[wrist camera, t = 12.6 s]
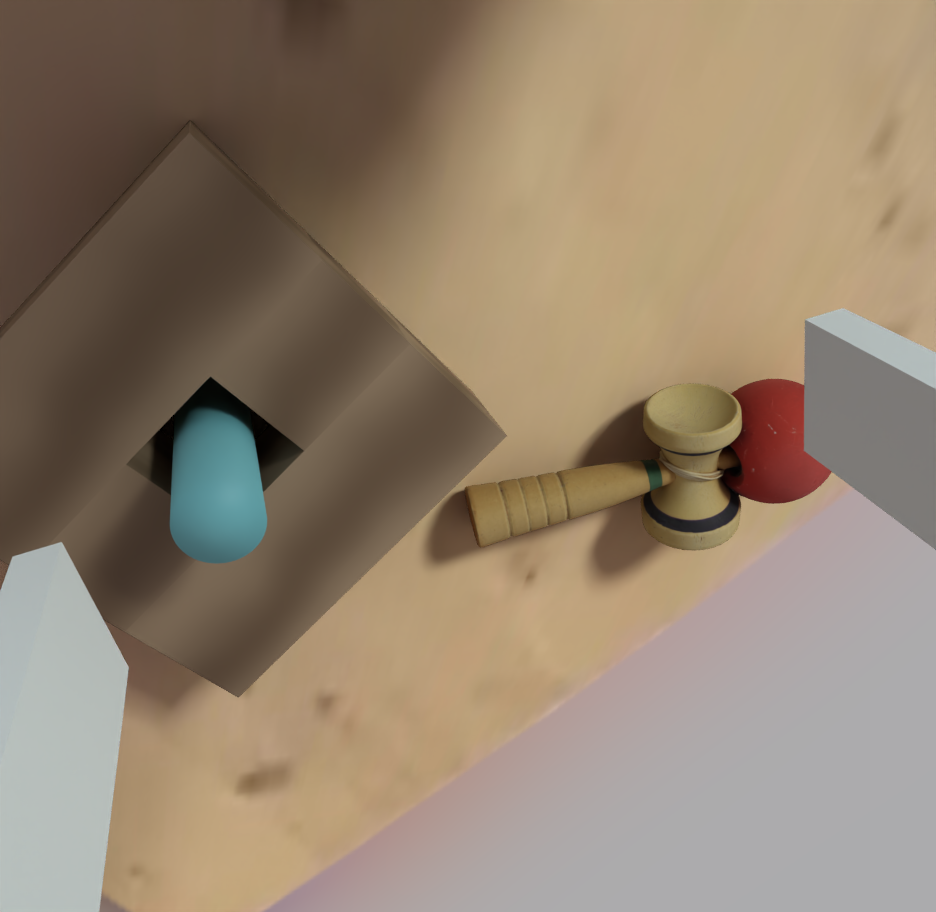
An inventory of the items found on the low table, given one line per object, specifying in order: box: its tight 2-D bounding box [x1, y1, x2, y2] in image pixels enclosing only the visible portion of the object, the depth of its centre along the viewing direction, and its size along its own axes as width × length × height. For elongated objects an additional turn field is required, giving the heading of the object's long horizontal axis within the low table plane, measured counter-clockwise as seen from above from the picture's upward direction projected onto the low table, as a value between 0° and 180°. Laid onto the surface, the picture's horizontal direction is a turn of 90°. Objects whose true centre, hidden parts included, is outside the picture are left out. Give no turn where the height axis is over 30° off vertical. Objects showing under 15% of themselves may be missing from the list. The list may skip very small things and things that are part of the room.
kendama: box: [465, 379, 832, 550], centre depth 41 cm, size 8×6×18 cm
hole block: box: [0, 121, 507, 697], centre depth 34 cm, size 16×16×5 cm
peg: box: [170, 377, 267, 564], centre depth 32 cm, size 3×3×10 cm
